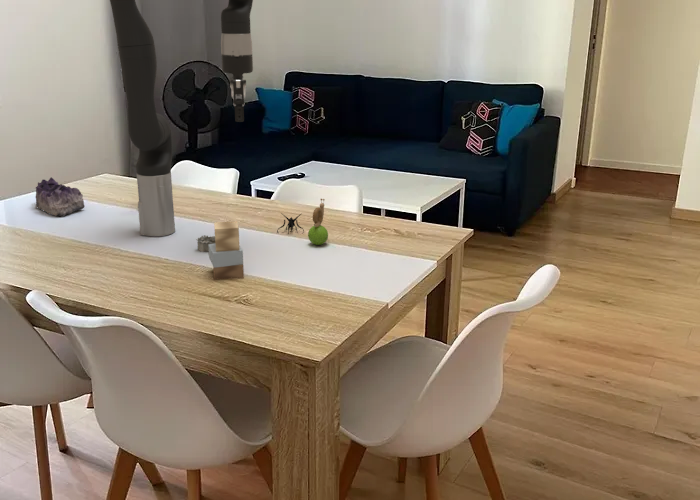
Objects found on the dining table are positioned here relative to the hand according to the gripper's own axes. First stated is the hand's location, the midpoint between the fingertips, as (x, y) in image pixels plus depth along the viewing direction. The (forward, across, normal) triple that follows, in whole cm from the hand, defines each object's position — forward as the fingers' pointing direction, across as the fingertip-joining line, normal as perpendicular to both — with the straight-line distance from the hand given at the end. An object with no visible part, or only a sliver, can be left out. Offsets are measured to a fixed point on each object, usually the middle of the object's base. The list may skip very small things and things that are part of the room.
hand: (239, 119), depth 183 cm
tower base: (+34, +20, -4) cm, 40 cm away
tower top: (+31, +20, -5) cm, 37 cm away
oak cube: (+27, +20, -4) cm, 34 cm away
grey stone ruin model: (+35, +1, -7) cm, 35 cm away
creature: (+34, -12, +13) cm, 39 cm away
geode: (+34, -44, -58) cm, 80 cm away
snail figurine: (+34, 0, +20) cm, 40 cm away
